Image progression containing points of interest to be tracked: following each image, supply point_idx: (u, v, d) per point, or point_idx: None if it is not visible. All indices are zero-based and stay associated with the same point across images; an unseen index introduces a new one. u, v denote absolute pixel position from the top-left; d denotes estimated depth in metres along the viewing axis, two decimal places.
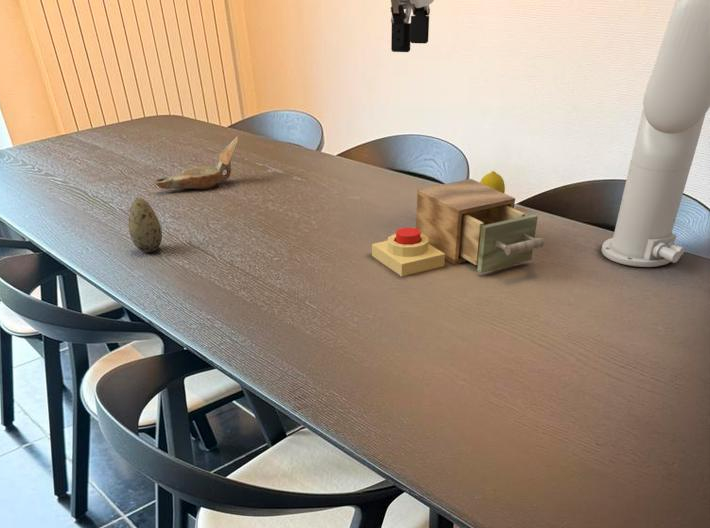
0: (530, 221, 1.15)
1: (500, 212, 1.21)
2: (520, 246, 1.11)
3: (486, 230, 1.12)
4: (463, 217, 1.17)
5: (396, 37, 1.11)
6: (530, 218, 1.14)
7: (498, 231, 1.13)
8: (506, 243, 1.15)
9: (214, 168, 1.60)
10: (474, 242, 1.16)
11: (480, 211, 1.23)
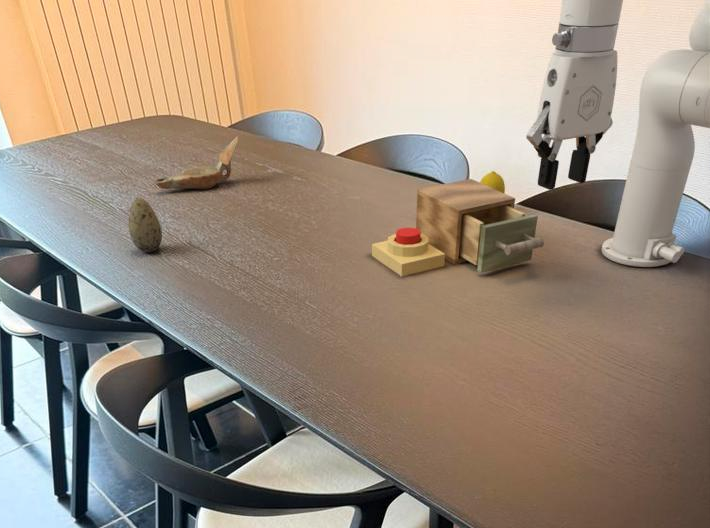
0: (530, 221, 1.15)
1: (500, 212, 1.21)
2: (520, 246, 1.11)
3: (486, 230, 1.12)
4: (463, 217, 1.17)
5: (540, 172, 0.98)
6: (530, 218, 1.14)
7: (498, 231, 1.13)
8: (506, 243, 1.15)
9: (214, 168, 1.60)
10: (474, 242, 1.16)
11: (480, 211, 1.23)
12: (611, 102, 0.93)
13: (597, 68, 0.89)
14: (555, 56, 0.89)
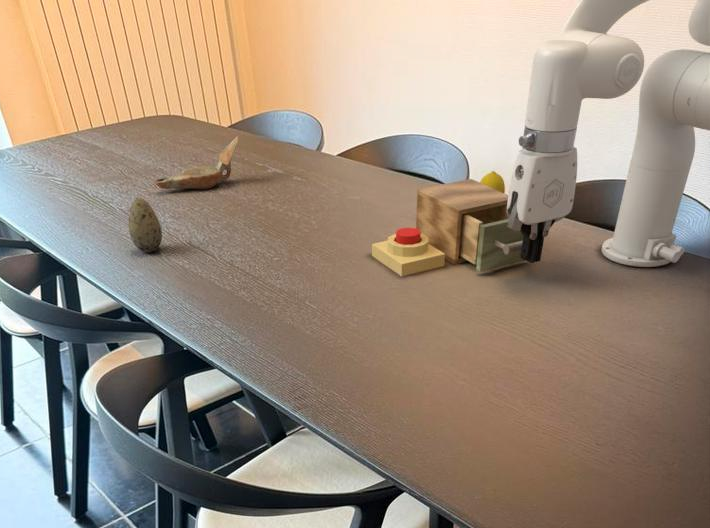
0: None
1: (499, 211, 1.21)
2: (518, 245, 1.11)
3: (485, 229, 1.12)
4: (462, 216, 1.17)
5: (523, 248, 1.10)
6: None
7: (497, 230, 1.13)
8: (504, 242, 1.15)
9: (214, 168, 1.60)
10: (473, 242, 1.17)
11: (479, 210, 1.23)
12: (573, 191, 1.04)
13: (559, 165, 1.00)
14: (522, 154, 1.00)
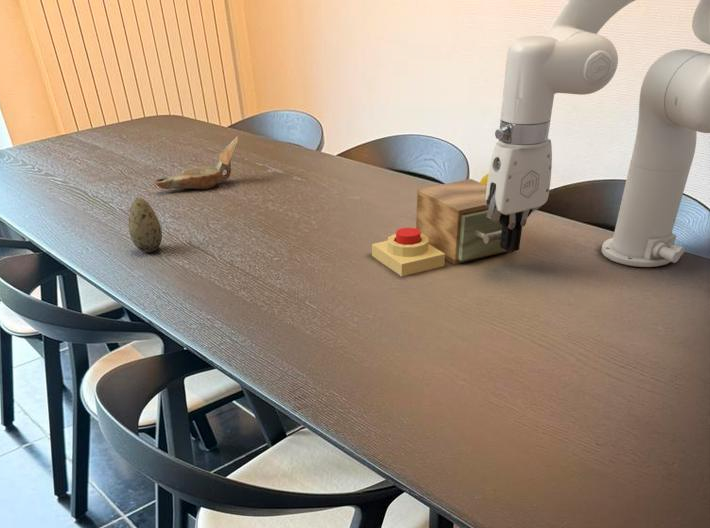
0: None
1: None
2: (498, 235, 1.15)
3: (465, 219, 1.16)
4: None
5: (502, 237, 1.14)
6: None
7: (477, 220, 1.17)
8: (485, 232, 1.19)
9: (214, 168, 1.60)
10: None
11: None
12: (548, 181, 1.08)
13: (534, 156, 1.04)
14: (498, 146, 1.04)
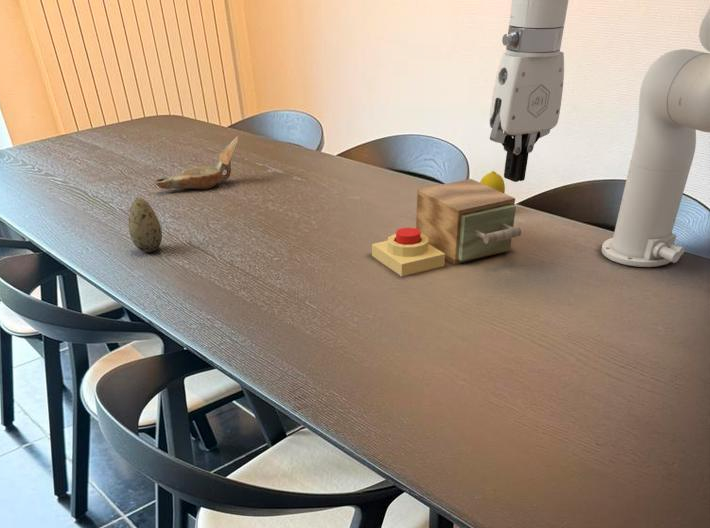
0: (508, 211, 1.19)
1: None
2: (498, 235, 1.15)
3: (465, 219, 1.16)
4: None
5: (506, 165, 1.05)
6: (508, 208, 1.18)
7: (477, 220, 1.17)
8: (485, 232, 1.19)
9: (214, 168, 1.60)
10: None
11: None
12: (559, 101, 0.99)
13: (544, 68, 0.94)
14: (505, 56, 0.94)
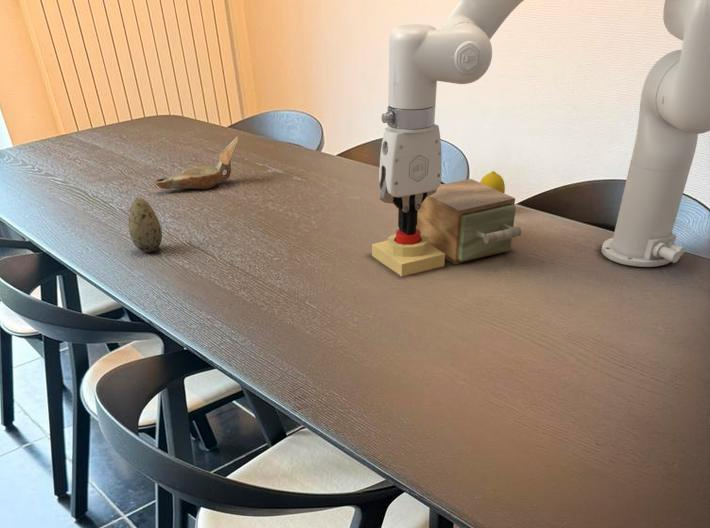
0: (508, 211, 1.19)
1: None
2: (498, 235, 1.15)
3: (465, 219, 1.16)
4: None
5: (399, 220, 1.18)
6: (508, 208, 1.18)
7: (477, 220, 1.17)
8: (485, 232, 1.19)
9: (214, 168, 1.60)
10: None
11: None
12: (439, 166, 1.12)
13: (421, 141, 1.08)
14: (386, 131, 1.08)
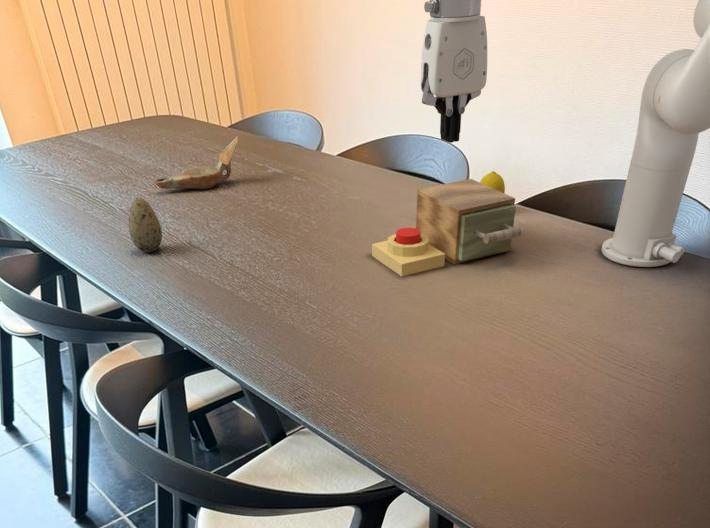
0: (508, 211, 1.19)
1: None
2: (498, 235, 1.15)
3: (465, 219, 1.16)
4: None
5: (441, 127, 1.11)
6: (508, 208, 1.18)
7: (477, 220, 1.17)
8: (485, 232, 1.19)
9: (214, 168, 1.60)
10: None
11: None
12: (485, 63, 1.05)
13: (466, 32, 1.01)
14: (429, 22, 1.01)
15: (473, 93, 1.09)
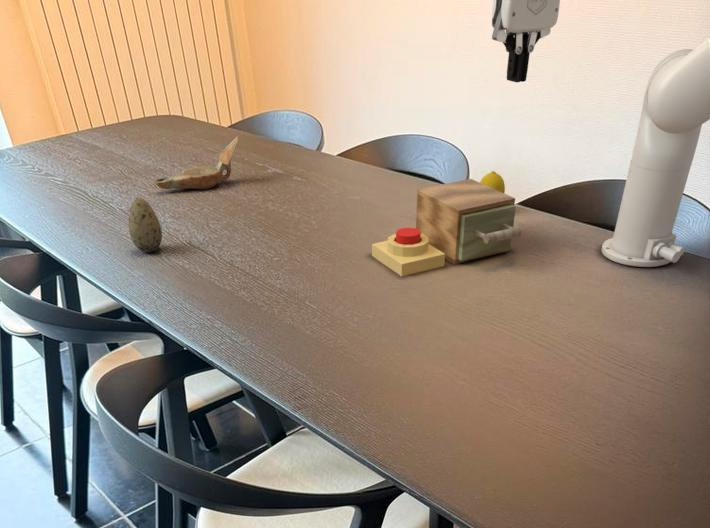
0: (508, 211, 1.19)
1: None
2: (498, 235, 1.15)
3: (465, 219, 1.16)
4: None
5: (508, 66, 1.10)
6: (508, 208, 1.18)
7: (477, 220, 1.17)
8: (485, 232, 1.19)
9: (214, 168, 1.60)
10: None
11: None
12: None
13: None
14: None
15: (543, 31, 1.08)
